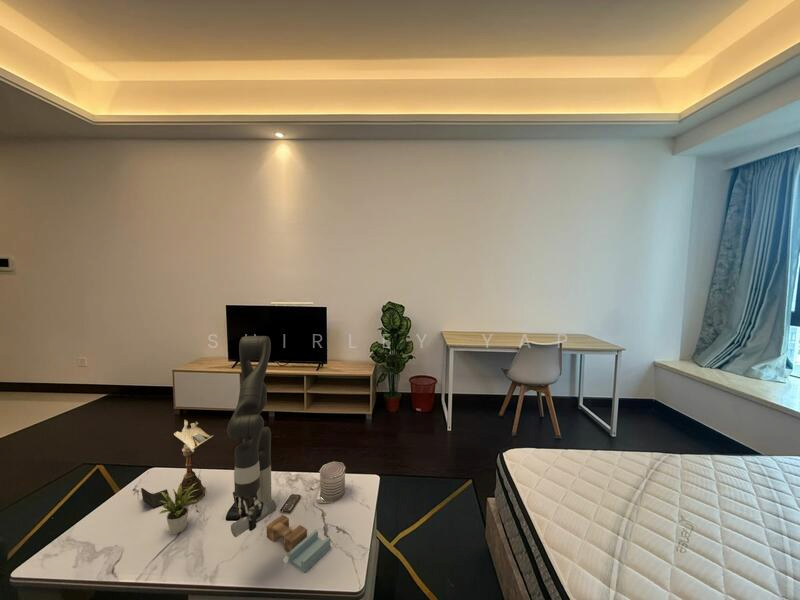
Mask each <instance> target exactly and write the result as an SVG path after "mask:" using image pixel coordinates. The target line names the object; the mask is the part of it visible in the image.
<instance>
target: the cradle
mask: <svg viewBox="0 0 800 600" xmlns="http://www.w3.org/2000/svg"><path fill="white" fill-rule="evenodd" d="M331 545H332V544H331V538H330V537H329V536H326V537H325V538H324V539H322V538H320V537H319V531H318V529H314V530H313V531H312V532H311V533H309V535H307V537H306V538H305V539H304V540H303V541H302V542H300V543H299V544H298V545H297V546H296V547H294V548H293V549H292V550H291V551H290V552H288V562H289V563H290V564H291V565H292V566H294V567H296V568H297V569H298V570H300V571H301V572H302V573H306V572H307V571H308V570H309V569H311V567H313V565H315V564H316V562H318V561H319V560H320V559H321V558H322V557H323V556H324V555H325V554H326V553H327V552H328V551H330V549H331V548H332V546H331Z"/></svg>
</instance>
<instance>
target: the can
mask: <svg viewBox="0 0 800 600" xmlns="http://www.w3.org/2000/svg"><path fill="white" fill-rule="evenodd" d="M346 468H347V467H346V466H345V464H344V463H343V462H341V461H340V462H339V461H331V462H328V463H326V464H323V465H322V466H321V468H320V469H319V470H318V472H319V486H320V487H319V496H321V497H322V498H323V499H324V500H325V501H324V502H325V503H335V502H338V501H340V500H342V499H343V498H344V497H345V495H346Z"/></svg>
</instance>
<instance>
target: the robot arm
mask: <svg viewBox="0 0 800 600" xmlns="http://www.w3.org/2000/svg"><path fill="white" fill-rule="evenodd" d="M271 349H272V342H271V339H270V337H269V336H267V335H245V336H242V337H241V338H240V340H239V344H238V352H239V353H238V354H239V364H240V372H241V385H240V389H239V395H238V401H237V404H236V407H235V410H234V412H233V414H232V416H231V417H230V420H229V422H228V424H227V430H226V432H227V433H226V434H227V436H228V438H230V439H231V440H234V441H235V440H242V442H241V443H240V444H238V445H237V446H236V447H235V449H234V470H233V473H234V474H233V480H234V484H233V485H234V491H233V492H232V496H233V497H232V498H233V501H234V506H235V510H236V511H238V514H239V517H240V519H241V518H243V517H244V516H246V515H247V514H248V518H249V529H248V531H250V532H252V531H253V530H255V529H256V528H257V524H256V520H257V519H258V518H259V517H261V513H262V509H263V505H264V504H265V503H266V502H268V501H269V500H271V499H272V498H273V497H272V459H271V456H272V453H271V450H272V449H271V447H272V446H271V445H272V431H271V428H270V427H269V426H265V419H264V418H263V416H262V415H260V414H261V413H262V412H263V410H264V409H265V407H266V405H267V402H268V390H267V389H268V388H267V385H266V383H265V382H264V380H265V377H266V373H267V369H268V365H269V361H270V356H271ZM251 361H258V362H257V365H256V366H255V368H254V367H253V365H252V362H251ZM272 500H273V499H272ZM252 512H253V515H251V513H252ZM240 519H239V520H240Z"/></svg>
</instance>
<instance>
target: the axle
mask: <svg viewBox="0 0 800 600" xmlns="http://www.w3.org/2000/svg"><path fill="white" fill-rule="evenodd" d="M276 510H277V504H276V502H275V500H274V499H271V500H269V501H268V502H266V503H265V504H264V505H263V509H262V513H261V517H259V518H258V519H257V520H256V525H257V524H258V523H260V522H261V521H262V520H264V519H265V518H267V517H268V516H270V515H271V514H273V513H275V511H276ZM251 515H253V512H252V513H251ZM230 531H231V534H232V536H233V537H234V538H238V537H239V536H241V535H242V534H243V533H245V532H246V531H249V518H248V514H247V515H246V516H244V517H243V518H241V519H238V520H236V521H235V522H233V523H232V524H231V525H230Z"/></svg>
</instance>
